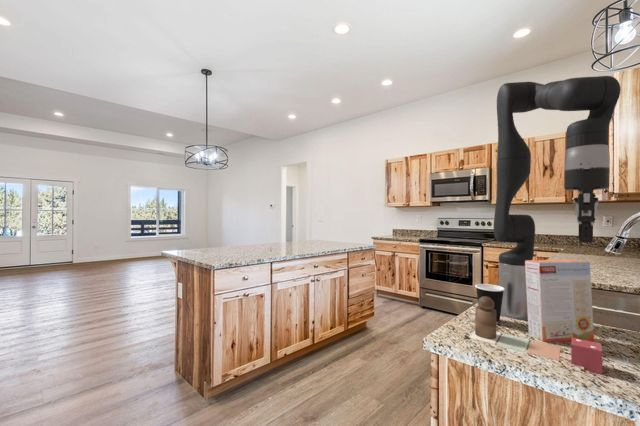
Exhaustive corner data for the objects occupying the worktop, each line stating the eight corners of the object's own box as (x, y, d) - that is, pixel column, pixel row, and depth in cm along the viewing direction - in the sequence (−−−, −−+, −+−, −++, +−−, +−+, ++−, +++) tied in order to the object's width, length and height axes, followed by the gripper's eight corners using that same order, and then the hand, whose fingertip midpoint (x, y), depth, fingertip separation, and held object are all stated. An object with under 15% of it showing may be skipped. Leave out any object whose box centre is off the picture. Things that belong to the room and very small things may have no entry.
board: (476, 328, 88) (476, 326, 88) (562, 348, 75) (562, 345, 75) (466, 340, 79) (466, 338, 79) (561, 365, 67) (561, 362, 67)
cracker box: (575, 334, 84) (572, 259, 85) (595, 342, 78) (592, 261, 79) (526, 334, 83) (523, 259, 84) (543, 343, 77) (540, 261, 78)
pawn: (477, 329, 85) (478, 293, 85) (497, 334, 82) (498, 296, 82) (473, 335, 81) (473, 296, 81) (494, 340, 78) (494, 300, 78)
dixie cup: (509, 324, 91) (510, 288, 91) (495, 329, 87) (495, 291, 87) (483, 316, 98) (484, 282, 98) (469, 320, 94) (469, 285, 94)
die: (571, 358, 70) (571, 336, 70) (600, 365, 67) (600, 343, 67) (571, 366, 66) (571, 344, 66) (602, 374, 63) (602, 351, 63)
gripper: (565, 172, 74) (564, 237, 75) (563, 166, 64) (562, 242, 64) (606, 170, 70) (605, 239, 70) (612, 162, 59) (611, 245, 59)
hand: (585, 240), depth 67 cm, fingers open, 8 cm apart
